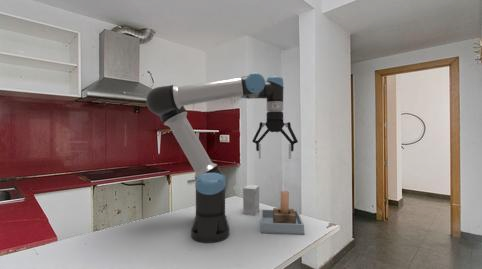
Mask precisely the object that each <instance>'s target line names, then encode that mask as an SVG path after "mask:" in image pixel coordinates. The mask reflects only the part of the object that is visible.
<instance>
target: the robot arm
mask: <svg viewBox="0 0 482 269" xmlns="http://www.w3.org/2000/svg"><path fill="white" fill-rule="evenodd" d="M284 88H285V87H284V79H283V77H281V76H277V75H273V76H267V78H266V80H265V77H264V76H263V75H262V74H261V73H259V72H251V73H250V74H249V75H245V76H240V77H239V76H237V77H233V78H227V79H220V80H214V81H207V82H200V83H196V84H189V85H182V86H178V85H176V84H172V85H163V86H158V87H154V88H153V89H151V90H150V91H149V92H148V94H147V95H146V100H145V102H146V106H147V108H148V110H149V111H150V112H151V113H153V114H155V115H156V116H158V117H159V118H160V121H161V122H162V124H163V125H164V126H167V127H168V128H170V130H171V132H172V134H173V136H174V137H175V140H176V141H177V142H178V144H179V146H180V148H181V150H182V151H183V153H184V155H185V156H186V158H187V160H188V162H189V163H190V165H191V167H192V169H193V170H194V172H195V174H194V179H195V184H194V185H195V216H194V220H193V222H192V226H191V231H190V234H191V235H190V237H191V238H192V240H195V241H197V242H199V243H200V242H201V243H217V242H220V241H224V240H226V239H227V238H229V236H230V225H229V223H228V220H227V216H226V192H227V189H228V183H229V182H228V178H227V176H226V175H225V174H224V173H223V172H222V170H221V169H220V167H219V165H218V164H217V163H214V162H213V161H212V160H211V158H210V157H209V155H208V153H207V151H206V150H205V148H204V146H203V144H202V142H201V141H200V139H199V137H198V136H197V134H196V132H195V130H194V129H193V127H192V125H191V123H190V122H189V120H188V118H187V116H188V112H187V110H186V106H189V105H190V106H191V105H194V104H201V103H209V102H214V101H215V102H216V101H219V100H226V99H233V98H238V97H240V98H241V99H247V100H250V99H264V100H265V99H266V111H267V112H266V120H265V121H266V122H262V121H260V122H259V127H258V129H257V131H256V133H255V135H254V136H253V138H252V143H254V144H255V145H256V147H255V150H256V151H257V152H258V159H259V160H260V159H261V151H262V150H261V147H262V146H261V142H262V141H263V139H264V138H265V137H266V136H267V134H268V133H269V132H271V133H279V132H280V133H281V134H282V135H283V136H284V137H285V139H286V140H287V141H288V142H289V144H288V160H292V152H294V149H295V148H294V145H295V144H297V143H299V142H298V139H297V137H296V134H295V133H294V131H293V129H292V126H291V122H284V112H283V111H284ZM284 126H285V128H287V130H288V132H289V134H290V135H291V137H290V136H289V135H288V134H287V133H286V132H285V130H284V129H283V128H284ZM264 127H266V128H267V129H266V130H265V131H264V132H263V134H262V135H261V136H260V137H259V138H258V136H259V135H260V132H261V131H262V128H264ZM291 138H292V139H291Z"/></svg>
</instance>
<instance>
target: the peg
mask: <svg viewBox="0 0 482 269" xmlns="http://www.w3.org/2000/svg"><path fill="white" fill-rule="evenodd" d="M289 198H290V192H289V191H287V190H281V191H280V204H279V205H280V207H279V208H280V213H281V214H288V211H289V209H290V206H289V203H290V199H289Z"/></svg>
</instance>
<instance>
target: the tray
mask: <svg viewBox="0 0 482 269" xmlns="http://www.w3.org/2000/svg"><path fill="white" fill-rule="evenodd" d="M294 212H295V214H296V224H287V223H274V222H273V209H261V210H260V233H261V234H273V235H274V234H275V235H300V236H304V235H305V224H304V222H303V220H302V218H301V215H300V212H299V210H294Z"/></svg>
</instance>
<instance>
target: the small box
mask: <svg viewBox="0 0 482 269" xmlns="http://www.w3.org/2000/svg"><path fill="white" fill-rule="evenodd" d="M242 189H243V190H242V193H243V194H242V202H243V204H242V206H243V207H242V209H243V210H242V211H243V212H242V213H243V214H244V215H251V216H256V215H257V213H258V212H259V211H260V185H258V184H257V185H255V184H247V185H245V186H244V187H243V188H242Z"/></svg>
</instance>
